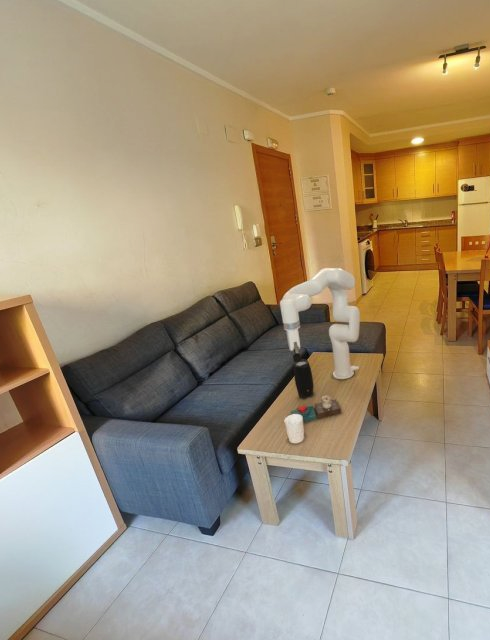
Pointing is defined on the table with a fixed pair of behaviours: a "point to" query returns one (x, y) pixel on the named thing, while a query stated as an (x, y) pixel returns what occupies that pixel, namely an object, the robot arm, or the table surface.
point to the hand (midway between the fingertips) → (297, 360)
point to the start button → (302, 409)
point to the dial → (326, 401)
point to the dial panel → (327, 409)
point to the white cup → (294, 428)
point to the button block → (306, 414)
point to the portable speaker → (303, 378)
